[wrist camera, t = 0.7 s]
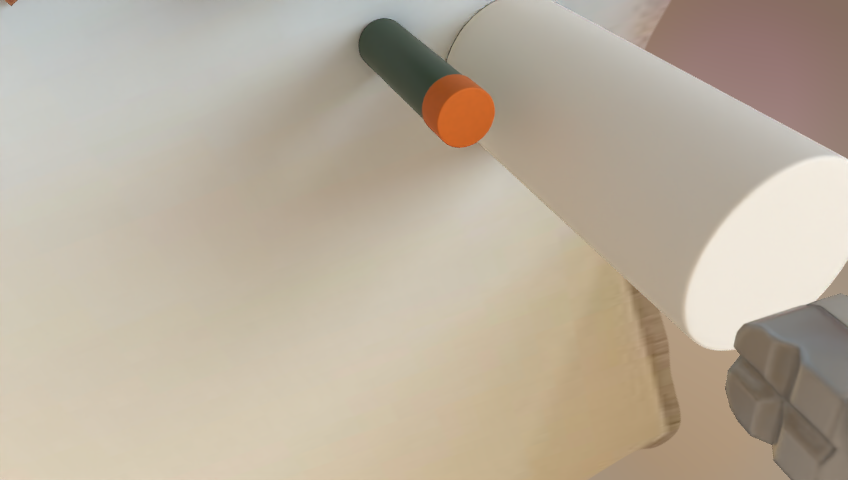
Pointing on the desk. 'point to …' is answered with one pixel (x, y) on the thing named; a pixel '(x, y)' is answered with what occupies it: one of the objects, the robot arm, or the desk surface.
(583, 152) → the tall pillar cylinder
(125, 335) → the desk surface
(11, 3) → the key
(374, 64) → the marker
